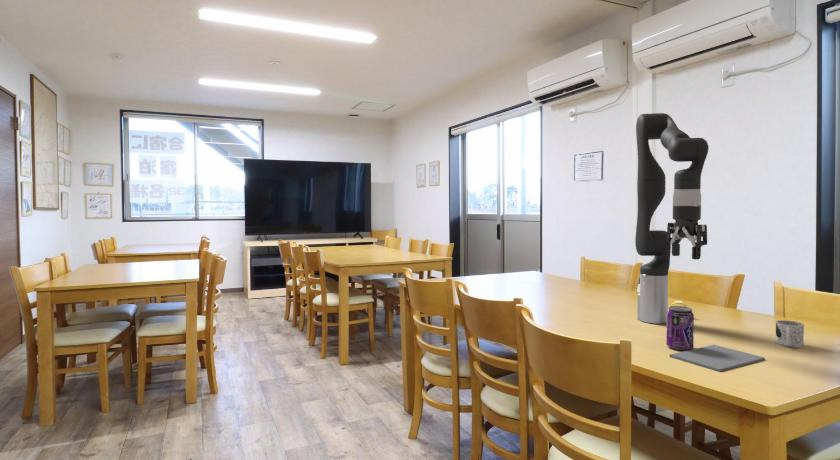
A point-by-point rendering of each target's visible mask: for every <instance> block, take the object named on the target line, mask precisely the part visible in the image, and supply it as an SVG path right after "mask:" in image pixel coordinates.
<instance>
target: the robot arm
mask: <svg viewBox="0 0 840 460" xmlns="http://www.w3.org/2000/svg"><path fill="white" fill-rule="evenodd" d="M635 123H636V124H635V132H636V133H635V134H636V137H635V138H636V146H637V149H636V150H637V177H636V179H637V180H636V181H637V182H636V183H637V185H636V186H637V188H636V189H637V190H636V193H637V194H636V195H637V213H636V214H637V218H636V228H635V239H634V240H635V243H634V245H635V250H636V252H637V254H638V255H639V256H641V257H642V256H645V257H648V256H649V257H654V258H653V259H652V260H651V261H649V262H648V263H645V264H643V265H641V266H640V267H639V293H637V302H636V303H637V307H636V309H637V315H636V316H637V317H636V319H637V320H639V321H641V322H644V323H647V324H658V325H659V324H660V325H661V324H667V312H668V310H669V271H670V263H671V256H672V257H679V256H680V255H681V251H680V250H681V244H680V243H681V242H682V240H683V239H687V240H688V241H690V243H691V245H692V247H691V259H692V260H700V259H701V255H702V253H701V252H702V247H703V246H707V245H708V225H707V224H699V220H700V221H701V218H702V193H701V192H702V191H701V189H702V188H701V186H702V185H701V183H702V182H701V180H702V179H701V178H702V172H703V168H704V165H705V162H706V159H707V157H708V153H709V147H710V146H709V143H708V141H707V140H706V139H705V138H703V137H690V136H689V135H688V134H687V133H686V132H685V131H683V130H681V129H680V128H679V127H678V126H677V124H676V123H675V121H674V119H673V118H672V116H670V115H669V114H667V113H664V112H658V113H657V112H656V113H641V114H639V116H638V117H637V119H636V122H635ZM649 140H660V144H661V145H662V147H663V148H664V149H666V150H667V151H668V152H667V153H668V157H669V159H670V160H671V161H673V162H676V163H677V162H679V163H683V162H691V163H690V166H689V167H688V168H683V169H679V170H677V171H675V172H674V178H673V179H674V180H673V183H674V184H673V195H672V220H674V221H675V222H667V229H666V230H663V229H662V230H661V229H660V230H655V229H653V230H652V229H650V228H651V223H652V218H653V215H654V213H655V212H656V210H657V209H658V207H659V206H660V205H661V203H662V201H663V199H664V198H665V196H666V184H667V183H666V174H665V172H664V170H663V168H662V167H661V165H660V164H659V163H658V161H657V160H656V158H655V157H654V155H653V154H652V153H653V152H652V151H651V148H650V142H649Z"/></svg>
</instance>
